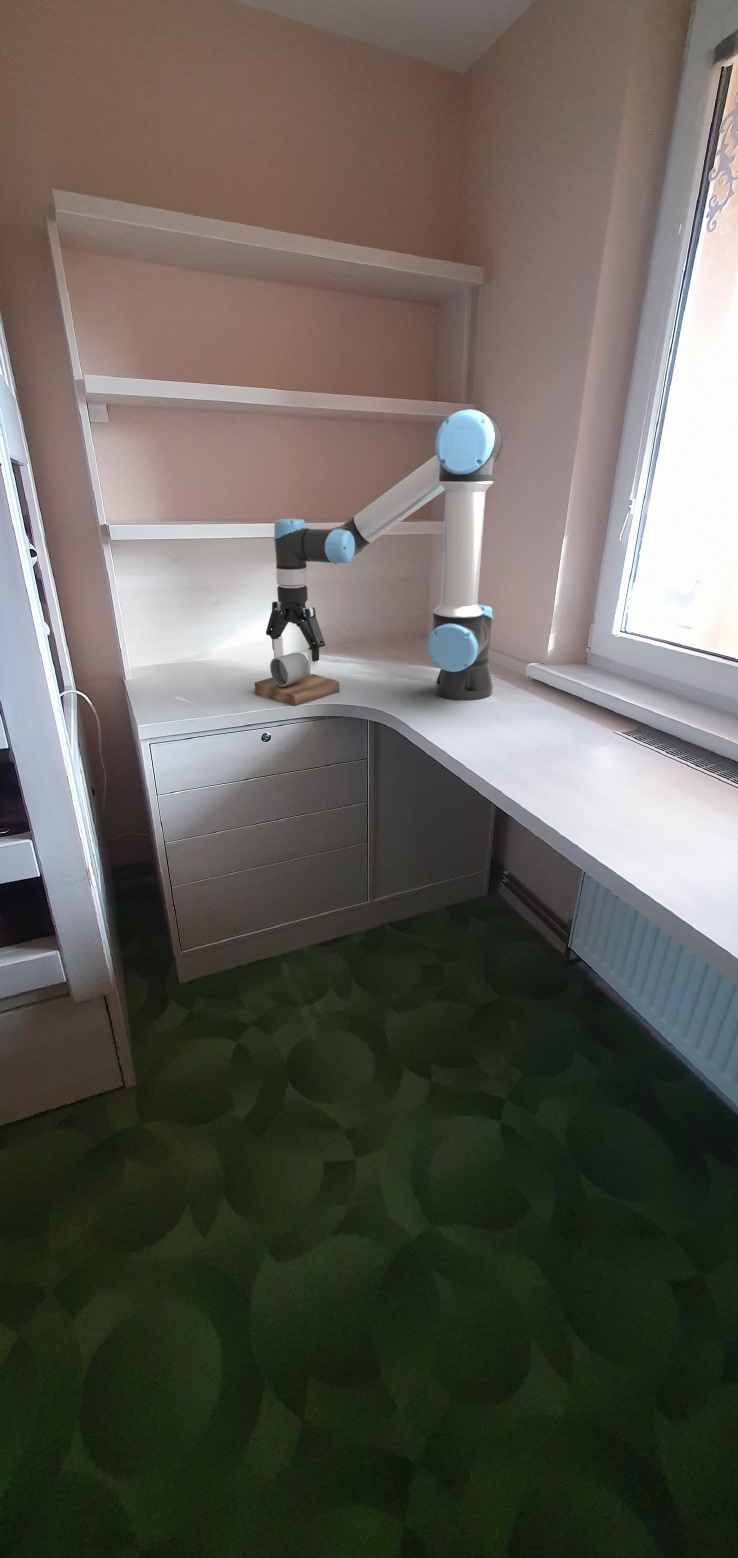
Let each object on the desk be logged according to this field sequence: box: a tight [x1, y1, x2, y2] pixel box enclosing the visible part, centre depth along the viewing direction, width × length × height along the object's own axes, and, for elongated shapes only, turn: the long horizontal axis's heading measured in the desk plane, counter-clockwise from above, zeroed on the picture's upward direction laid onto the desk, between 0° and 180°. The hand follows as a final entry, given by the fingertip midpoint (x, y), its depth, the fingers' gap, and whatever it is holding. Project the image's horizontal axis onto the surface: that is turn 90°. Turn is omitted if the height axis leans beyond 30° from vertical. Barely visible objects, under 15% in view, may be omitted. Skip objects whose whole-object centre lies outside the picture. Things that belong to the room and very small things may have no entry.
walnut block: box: [254, 673, 340, 707], centre depth 175 cm, size 16×16×4 cm
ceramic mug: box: [269, 651, 309, 687], centre depth 170 cm, size 11×8×8 cm
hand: (295, 667), depth 172 cm, fingers open, 13 cm apart
